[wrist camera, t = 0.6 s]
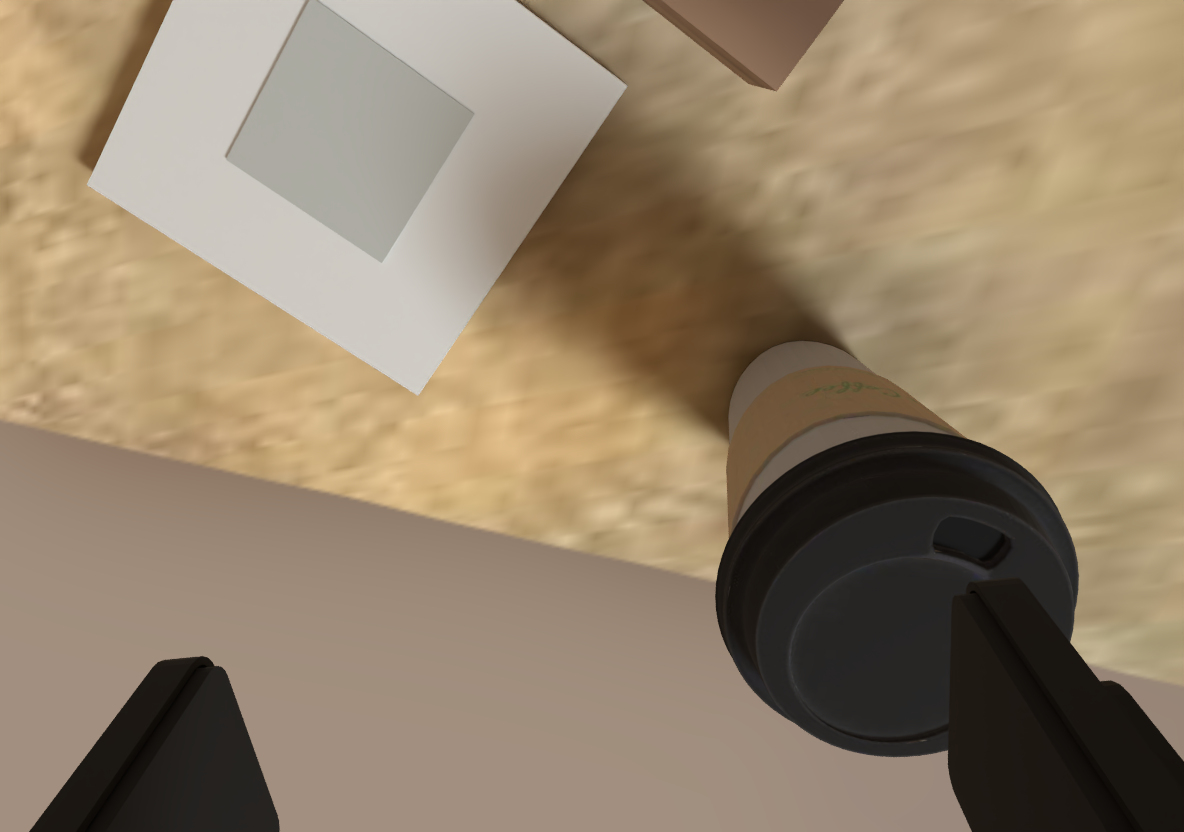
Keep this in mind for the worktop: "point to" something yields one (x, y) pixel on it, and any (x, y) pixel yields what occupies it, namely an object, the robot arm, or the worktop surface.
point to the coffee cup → (867, 548)
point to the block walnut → (751, 32)
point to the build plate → (356, 155)
